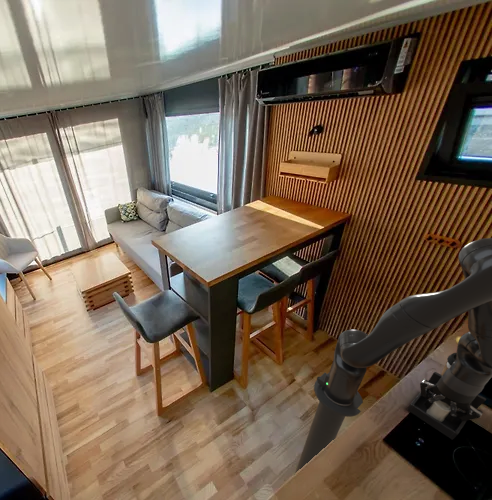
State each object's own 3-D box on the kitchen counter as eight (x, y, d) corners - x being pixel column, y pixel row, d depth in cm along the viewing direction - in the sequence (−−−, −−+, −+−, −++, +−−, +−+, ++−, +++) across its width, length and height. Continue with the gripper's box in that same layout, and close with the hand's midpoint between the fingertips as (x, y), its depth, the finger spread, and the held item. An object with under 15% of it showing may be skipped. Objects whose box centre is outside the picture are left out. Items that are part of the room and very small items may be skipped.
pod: (424, 414, 89) (432, 403, 85) (429, 407, 90) (437, 396, 87) (440, 424, 86) (449, 413, 82) (445, 417, 87) (454, 406, 84)
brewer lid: (485, 400, 78) (493, 389, 79) (433, 372, 87) (441, 362, 88) (470, 415, 84) (478, 404, 85) (423, 387, 93) (431, 378, 94)
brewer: (452, 440, 82) (457, 434, 80) (406, 409, 91) (410, 404, 90) (465, 420, 86) (470, 415, 84) (419, 393, 95) (423, 387, 93)
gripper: (423, 373, 83) (405, 401, 91) (492, 410, 71) (463, 439, 80) (433, 361, 85) (414, 389, 94) (501, 395, 74) (472, 424, 83)
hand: (437, 412), depth 87 cm, fingers closed on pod, 4 cm apart
